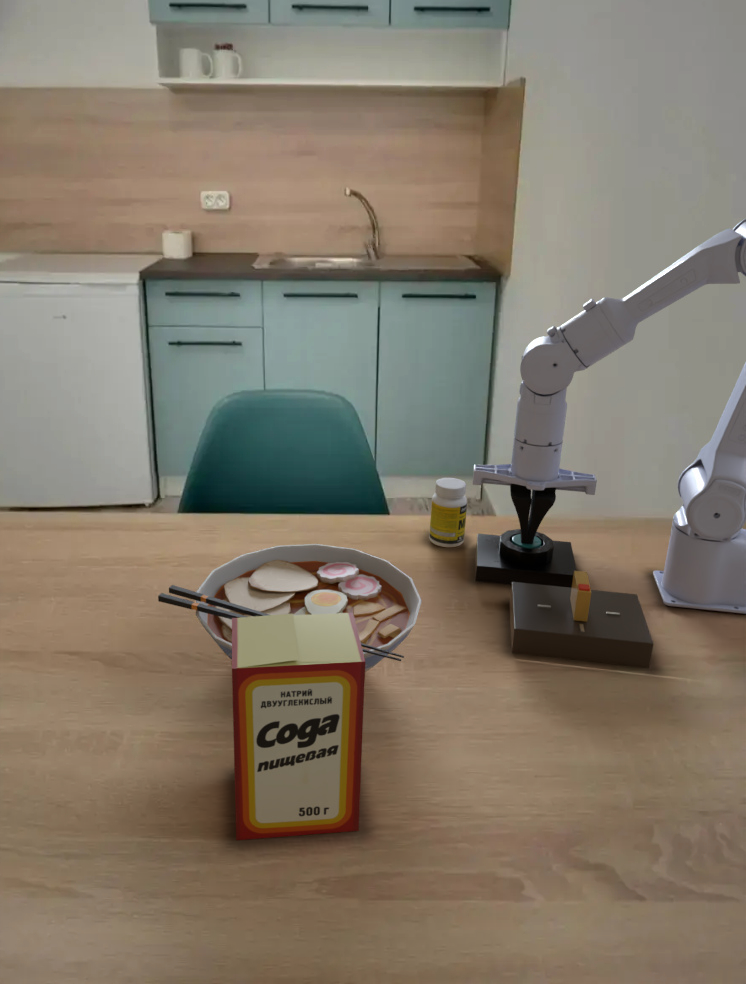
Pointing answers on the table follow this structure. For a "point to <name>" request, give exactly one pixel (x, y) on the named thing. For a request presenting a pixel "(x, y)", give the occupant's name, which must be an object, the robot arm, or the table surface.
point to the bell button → (517, 541)
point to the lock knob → (580, 596)
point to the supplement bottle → (448, 513)
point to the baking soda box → (297, 724)
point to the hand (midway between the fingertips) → (526, 540)
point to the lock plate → (579, 626)
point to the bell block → (523, 561)
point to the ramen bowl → (308, 593)
